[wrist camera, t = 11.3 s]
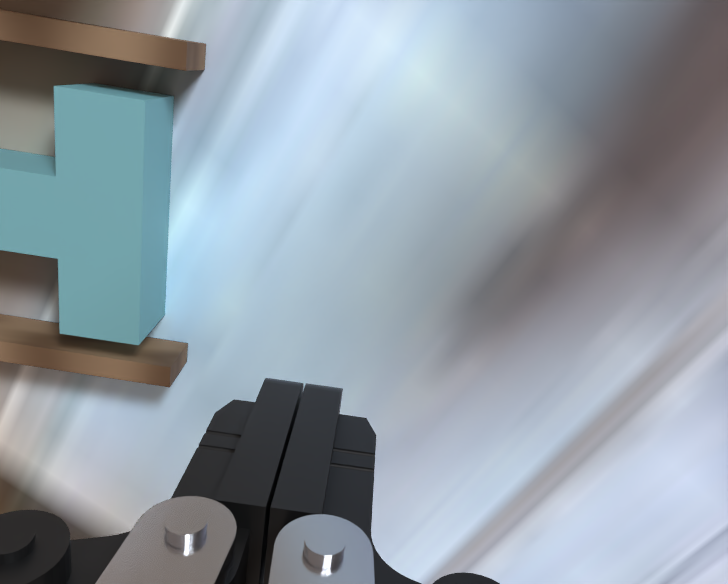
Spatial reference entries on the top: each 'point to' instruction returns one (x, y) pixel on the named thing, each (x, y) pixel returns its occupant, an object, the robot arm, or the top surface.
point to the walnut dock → (42, 338)
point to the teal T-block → (97, 208)
